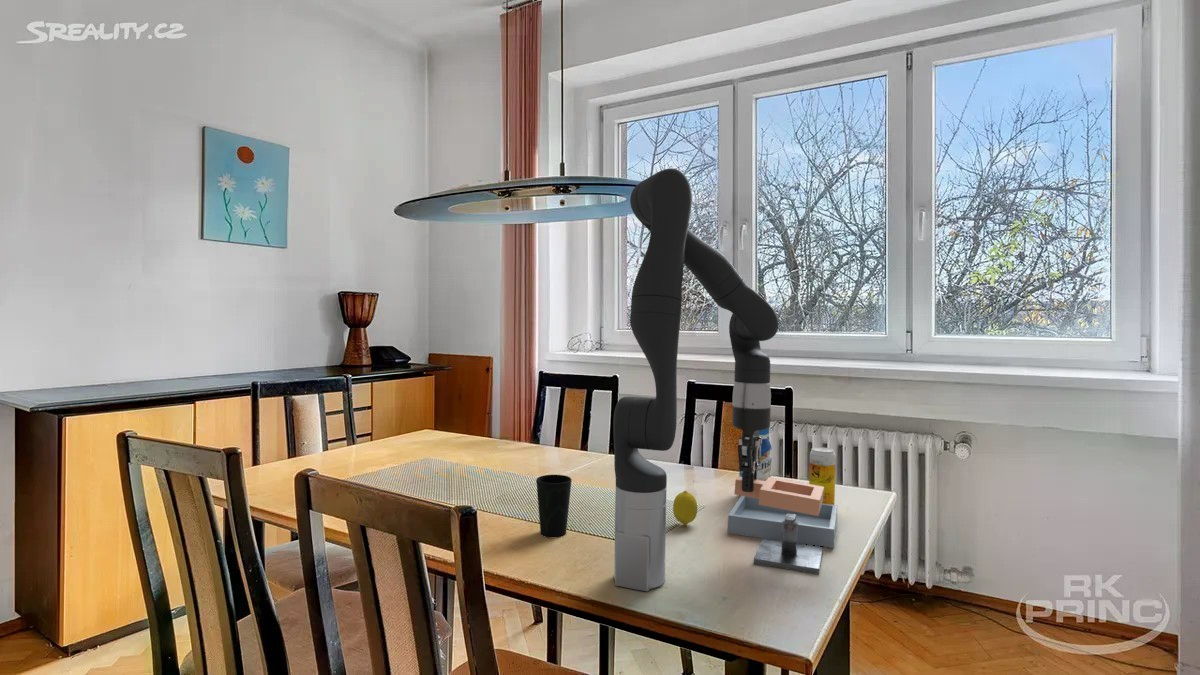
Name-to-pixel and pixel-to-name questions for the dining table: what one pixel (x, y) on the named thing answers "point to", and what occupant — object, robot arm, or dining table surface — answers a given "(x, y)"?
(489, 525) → the dining table surface
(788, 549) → the stand
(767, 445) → the beverage bottle
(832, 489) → the beer can
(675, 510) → the lemon
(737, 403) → the robot arm
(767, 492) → the tabbed ring
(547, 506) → the cup
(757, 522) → the tray
